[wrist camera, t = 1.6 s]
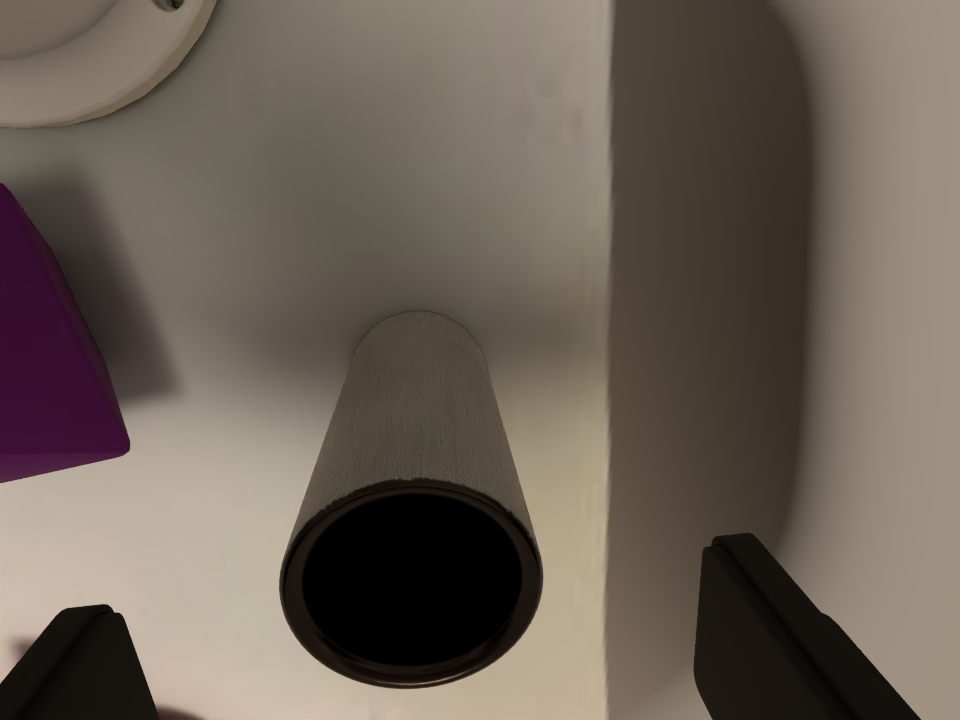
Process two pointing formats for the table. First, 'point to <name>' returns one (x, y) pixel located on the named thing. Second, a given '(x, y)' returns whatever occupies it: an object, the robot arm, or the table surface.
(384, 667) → the gray hollow tube
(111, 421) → the perfume bottle
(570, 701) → the table surface
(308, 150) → the table surface
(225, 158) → the table surface
